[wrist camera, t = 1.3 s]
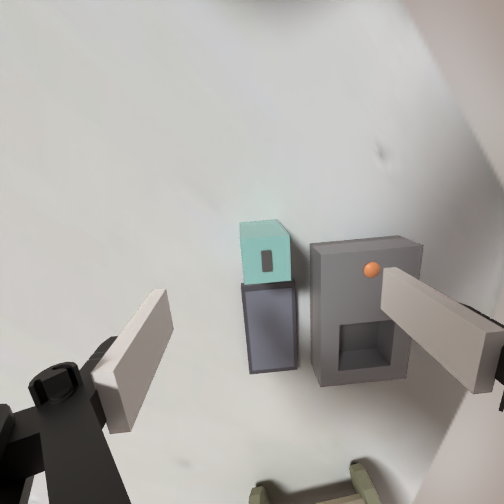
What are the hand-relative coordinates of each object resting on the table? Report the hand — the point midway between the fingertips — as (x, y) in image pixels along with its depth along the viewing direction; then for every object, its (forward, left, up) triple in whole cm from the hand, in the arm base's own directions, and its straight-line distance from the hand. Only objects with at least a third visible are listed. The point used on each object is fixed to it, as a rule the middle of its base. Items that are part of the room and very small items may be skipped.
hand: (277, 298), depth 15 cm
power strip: (+9, +11, -13) cm, 19 cm away
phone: (+11, +1, -13) cm, 17 cm away
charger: (0, 0, -13) cm, 13 cm away
